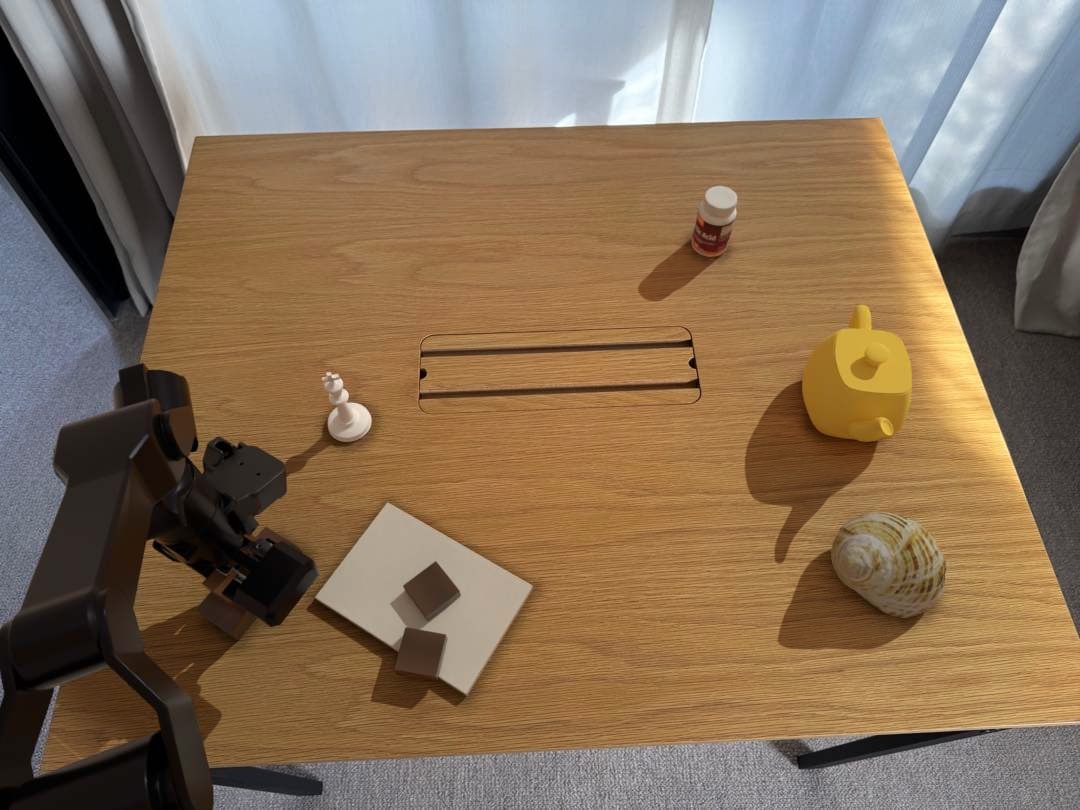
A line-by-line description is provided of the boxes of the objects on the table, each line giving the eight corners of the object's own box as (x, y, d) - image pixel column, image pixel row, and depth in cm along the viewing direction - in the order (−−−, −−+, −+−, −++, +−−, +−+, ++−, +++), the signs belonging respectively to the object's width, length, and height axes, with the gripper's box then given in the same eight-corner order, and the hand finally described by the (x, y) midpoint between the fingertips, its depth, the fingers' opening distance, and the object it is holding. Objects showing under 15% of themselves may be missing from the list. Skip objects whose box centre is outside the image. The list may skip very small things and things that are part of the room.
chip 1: (428, 621, 74) (426, 616, 73) (404, 590, 76) (402, 585, 75) (461, 595, 76) (459, 590, 74) (437, 565, 77) (435, 560, 76)
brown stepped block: (240, 642, 75) (213, 620, 69) (206, 619, 76) (177, 596, 70) (306, 557, 79) (287, 530, 73) (274, 537, 80) (252, 509, 74)
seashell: (965, 599, 75) (968, 586, 67) (869, 634, 78) (860, 627, 70) (911, 506, 80) (908, 483, 72) (823, 542, 83) (810, 525, 74)
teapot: (905, 486, 83) (949, 437, 74) (801, 477, 83) (831, 427, 74) (884, 352, 92) (920, 293, 83) (791, 344, 93) (817, 285, 84)
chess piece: (325, 411, 88) (301, 361, 80) (367, 400, 89) (348, 349, 81) (331, 447, 86) (308, 399, 77) (375, 435, 87) (356, 386, 78)
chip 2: (437, 681, 71) (435, 677, 70) (396, 673, 72) (393, 669, 71) (448, 638, 74) (446, 634, 72) (407, 631, 74) (405, 626, 73)
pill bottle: (683, 244, 102) (693, 196, 95) (707, 226, 104) (719, 178, 96) (710, 263, 100) (723, 216, 93) (734, 245, 102) (748, 197, 95)
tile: (467, 696, 72) (466, 694, 71) (316, 600, 77) (314, 597, 76) (533, 589, 77) (533, 585, 76) (388, 505, 82) (387, 501, 81)
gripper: (336, 483, 62) (373, 554, 75) (169, 386, 67) (231, 468, 81) (242, 599, 57) (300, 653, 70) (69, 485, 62) (153, 555, 76)
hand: (246, 575), depth 74 cm, fingers open, 4 cm apart
